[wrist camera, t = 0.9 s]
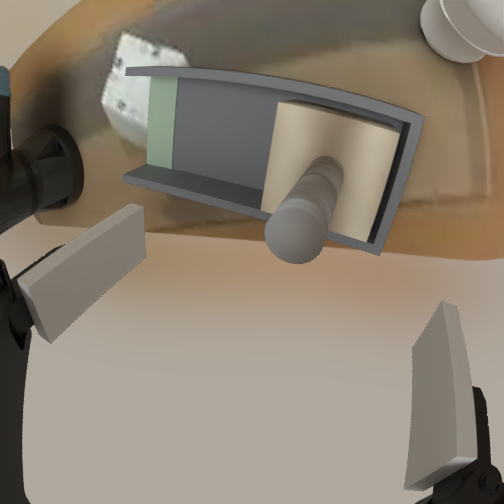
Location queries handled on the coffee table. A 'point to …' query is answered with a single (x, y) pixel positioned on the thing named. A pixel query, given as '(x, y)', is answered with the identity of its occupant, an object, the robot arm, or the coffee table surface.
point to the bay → (248, 139)
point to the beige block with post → (323, 177)
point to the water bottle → (464, 28)
